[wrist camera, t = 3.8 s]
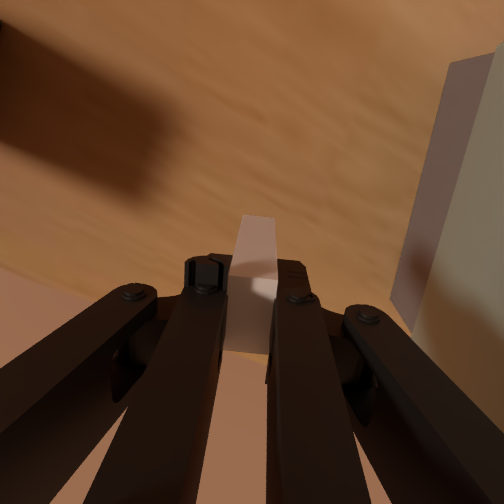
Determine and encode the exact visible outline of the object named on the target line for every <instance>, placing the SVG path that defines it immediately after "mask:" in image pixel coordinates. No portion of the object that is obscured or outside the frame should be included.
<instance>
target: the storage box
mask: <svg viewBox="0 0 504 504" xmlns="http://www.w3.org/2000/svg"><path fill="white" fill-rule="evenodd" d="M494 54H495V52H494V53H490V54H485V55H481V56H477V57H473V58H469V59H465V60H461V61H456V62H452V63H450V65H449V69H448V73H447V77H446V81H445V85H444V89H443V93H442V97H441V101H440V105H439V108H438V112H437V116H436V120H435V124H434V128H433V132H432V136H431V140H430V144H429V148H428V152H427V155H426V159H425V163H424V167H423V171H422V175H421V179H420V183H419V187H418V191H417V195H416V198H415V202H414V206H413V210H412V214H411V218H410V222H409V226H408V230H407V234H406V238H405V242H404V245H403V249H402V253H401V257H400V261H399V265H398V269H397V273H396V277H395V281H394V285H393V289H392V292H391V296H390V300H391V302H392V303H393V305H394V306H395V308H396V310H397V311H398V313H399V314H400V316H401V317H402V319H403V321H404V322H405V324H406V325H407V327H408V329H409V330H410V332H411V333H412V332H413V329H414V325H415V322H416V319H417V315H418V312H419V308H420V305H421V302H422V298H423V295H424V291H425V288H426V285H427V281H428V278H429V274H430V271H431V268H432V264H433V261H434V257H435V254H436V251H437V247H438V244H439V241H440V237H441V234H442V230H443V227H444V224H445V220H446V217H447V213H448V210H449V207H450V203H451V200H452V196H453V193H454V190H455V186H456V183H457V179H458V176H459V173H460V169H461V166H462V162H463V159H464V156H465V152H466V149H467V145H468V142H469V139H470V135H471V132H472V128H473V125H474V122H475V118H476V115H477V112H478V108H479V105H480V101H481V98H482V95H483V91H484V88H485V84H486V81H487V78H488V74H489V71H490V67H491V64H492V61H493V57H494Z"/></svg>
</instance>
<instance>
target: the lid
mask: <svg viewBox="0 0 504 504" xmlns="http://www.w3.org/2000/svg"><path fill="white" fill-rule="evenodd" d="M411 339H412V340H413V341H414V342H415V343H416V344H417V345H418V346H419V347H420V348H421V349H422V350H423V351H424V352H425V353H426V354H427V355H428V356H429V357H430V358H431V360H432V361H433V362H434V363H435V364H436V365H437V366H438V367H439V368H440V369H441V370H442V371H443V372H444V373H445V374H446V375H447V376H448V377H449V378H450V379H451V380H452V381H453V382H454V383H455V384H456V385H457V386H458V387H459V388H460V389H461V390H462V391H463V392H464V393H465V394H466V395H467V396H468V397H469V398H470V399H471V400H472V401H473V402H474V403H475V404H476V405H477V406H478V408H479V409H480V410H481V411H482V412H483V413H484V414H485V415H486V416H487V417H488V418H489V419H490V420H491V421H492V422H493V423H494V424H495V425H496V426H497V427H498V428H499V429H500V430H501V431H502V432H503V433H504V42H502V43H500V44H498V45H497V47H496V50H495V54H494V57H493V61H492V64H491V67H490V71H489V74H488V78H487V81H486V84H485V88H484V91H483V95H482V98H481V101H480V105H479V108H478V112H477V115H476V118H475V122H474V125H473V128H472V132H471V135H470V139H469V142H468V145H467V149H466V152H465V156H464V159H463V162H462V166H461V169H460V173H459V176H458V179H457V183H456V186H455V190H454V193H453V196H452V200H451V203H450V207H449V210H448V213H447V217H446V220H445V224H444V227H443V230H442V234H441V237H440V241H439V244H438V247H437V251H436V254H435V257H434V261H433V264H432V268H431V271H430V274H429V278H428V281H427V285H426V288H425V291H424V295H423V298H422V302H421V305H420V308H419V312H418V315H417V319H416V322H415V325H414V329H413V332H412V336H411Z"/></svg>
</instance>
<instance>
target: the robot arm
mask: <svg viewBox="0 0 504 504" xmlns="http://www.w3.org/2000/svg"><path fill="white" fill-rule="evenodd" d="M223 350H227V351H237V352H247V353H256V354H266V355H268V354H269V357H268V365H267V372H266V380H265V384H267V462H266V463H267V464H266V465H267V466H266V468H267V469H266V470H267V471H266V504H371V500H370V496H369V492H368V488H367V484H366V480H365V476H364V472H363V468H362V465H361V461H360V457H359V453H358V449H357V445H356V441H355V437H354V434H355V435H356V437H357V439H358V441H359V443H360V445H361V447H362V448H363V450H364V452H365V454H366V456H367V458H368V460H369V462H370V464H371V465H372V467H373V469H374V471H375V473H376V475H377V477H378V479H379V480H380V482H381V484H382V486H383V488H384V490H385V491H386V493H387V495H388V497H389V499H390V501H391V503H392V504H504V433H503V432H502V431H501V430H500V429H499V428H498V427H497V426H496V425H495V424H494V423H493V422H492V421H491V420H490V419H489V418H488V417H487V416H486V415H485V414H484V413H483V412H482V411H481V410H480V409H479V408H478V406H477V405H476V404H475V403H474V402H473V401H472V400H471V399H470V398H469V397H468V396H467V395H466V394H465V393H464V392H463V391H462V390H461V389H460V388H459V387H458V386H457V385H456V384H455V383H454V382H453V381H452V380H451V379H450V378H449V377H448V376H447V375H446V374H445V373H444V372H443V371H442V370H441V369H440V368H439V367H438V366H437V365H436V364H435V363H434V362H433V361H432V360H431V358H430V357H429V356H428V355H427V354H426V353H425V352H424V351H423V350H422V349H421V348H420V347H419V346H418V345H417V344H416V343H415V342H414V341H413V340H412V339H411V338H410V337H409V336H408V335H407V334H406V333H405V332H404V331H403V330H402V329H401V328H400V327H399V326H398V325H397V324H396V323H395V322H394V321H393V320H392V319H391V318H390V317H389V316H388V315H387V314H386V313H384V312H383V311H381V310H379V309H377V308H375V307H373V306H369V305H365V304H364V305H360V304H356V305H350V306H349V307H347V308H346V309H345V313H344V315H342V314H338V313H335V312H331V311H329V310H326V309H324V308H322V307H321V304H320V301H319V299H318V297H317V296H316V295H315V294H314V293H312V292H311V288H310V284H309V280H308V275H307V271H306V267H305V266H304V265H303V264H302V263H301V262H300V261H294V260H284V259H277V250H276V231H275V218H272V217H262V216H252V215H243V217H242V221H241V225H240V229H239V233H238V237H237V241H236V245H235V249H234V254H233V255H224V254H214V253H210V254H209V255H207V256H196V257H192V258H190V259H188V260H187V261H185V275H184V288H183V290H182V292H181V294H180V295H176V296H170V297H158V298H157V290H156V289H155V288H154V287H152V286H149V285H147V284H140V283H135V284H134V283H130V284H127V285H123V286H120V287H118V288H116V289H114V290H112V291H111V292H110V293H108V294H107V295H105V296H104V297H102V298H101V299H99V300H98V301H97V302H95V303H94V304H92V305H91V306H89V307H88V308H87V309H85V310H84V311H82V312H81V313H79V314H78V315H76V316H75V317H74V318H72V319H71V320H69V321H68V322H67V323H65V324H64V325H62V326H61V327H59V328H58V329H56V330H55V331H53V332H52V333H51V334H49V335H48V336H46V337H45V338H43V339H42V340H41V341H39V342H38V343H36V344H35V345H33V346H32V347H31V348H29V349H28V350H26V351H25V352H23V353H22V354H21V355H19V356H18V357H16V358H15V359H13V360H12V361H10V362H9V363H7V364H6V365H5V366H3V367H2V368H0V504H49V503H50V502H51V501H52V500H53V498H54V497H55V496H56V495H57V493H58V492H59V491H60V490H61V488H62V487H63V486H64V485H65V483H66V482H67V481H68V480H69V479H70V477H71V476H72V475H73V474H74V472H75V471H76V470H77V469H78V467H79V466H80V465H81V464H82V462H83V461H84V460H85V459H86V458H87V456H88V455H89V454H90V453H91V451H92V450H93V449H94V448H95V446H96V445H97V444H98V443H99V442H100V440H101V439H102V438H103V437H104V435H105V434H106V433H107V431H108V430H109V429H110V428H111V427H112V425H113V424H114V423H115V422H116V420H117V419H118V418H119V417H120V416H121V414H122V413H123V412H124V411H125V409H126V408H127V407H128V408H127V410H126V412H125V414H124V416H123V419H122V421H121V423H120V425H119V427H118V429H117V431H116V434H115V436H114V438H113V440H112V442H111V444H110V446H109V449H108V451H107V453H106V455H105V457H104V459H103V461H102V463H101V466H100V468H99V470H98V472H97V474H96V476H95V479H94V481H93V483H92V485H91V487H90V489H89V491H88V493H87V496H86V498H85V500H84V502H83V504H196V500H197V494H198V489H199V483H200V478H201V472H202V467H203V461H204V456H205V450H206V445H207V439H208V434H209V428H210V423H211V417H212V412H213V406H214V400H215V395H216V390H217V384H218V379H219V373H220V367H221V362H222V351H223ZM353 432H354V433H353Z"/></svg>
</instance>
